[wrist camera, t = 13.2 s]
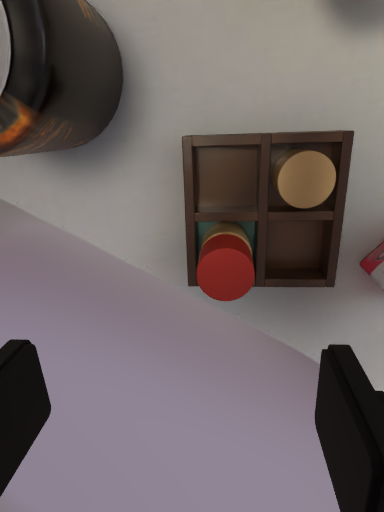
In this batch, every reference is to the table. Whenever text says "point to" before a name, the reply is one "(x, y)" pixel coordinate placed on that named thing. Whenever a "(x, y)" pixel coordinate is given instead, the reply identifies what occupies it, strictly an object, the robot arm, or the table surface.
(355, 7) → the table surface
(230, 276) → the cylinder
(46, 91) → the jar
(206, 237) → the maple token
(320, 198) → the disc
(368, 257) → the ink box
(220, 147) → the token board
